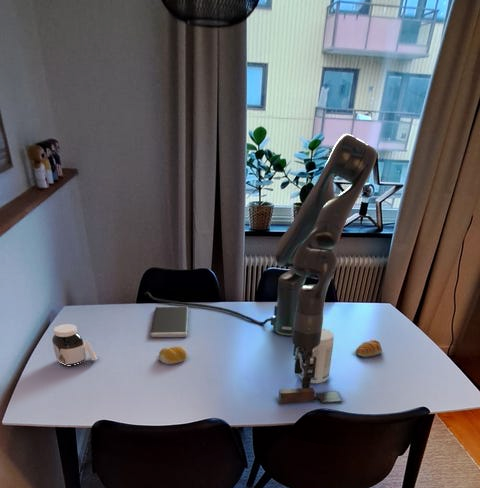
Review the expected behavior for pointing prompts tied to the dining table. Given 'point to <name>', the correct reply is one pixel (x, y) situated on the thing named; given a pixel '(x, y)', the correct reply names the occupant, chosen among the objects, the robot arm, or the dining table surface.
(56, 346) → the spread jar
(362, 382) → the dining table surface
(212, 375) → the dining table surface
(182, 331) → the grey tablet slab
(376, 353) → the pastry
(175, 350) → the bread roll
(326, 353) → the supplement tub
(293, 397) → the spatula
